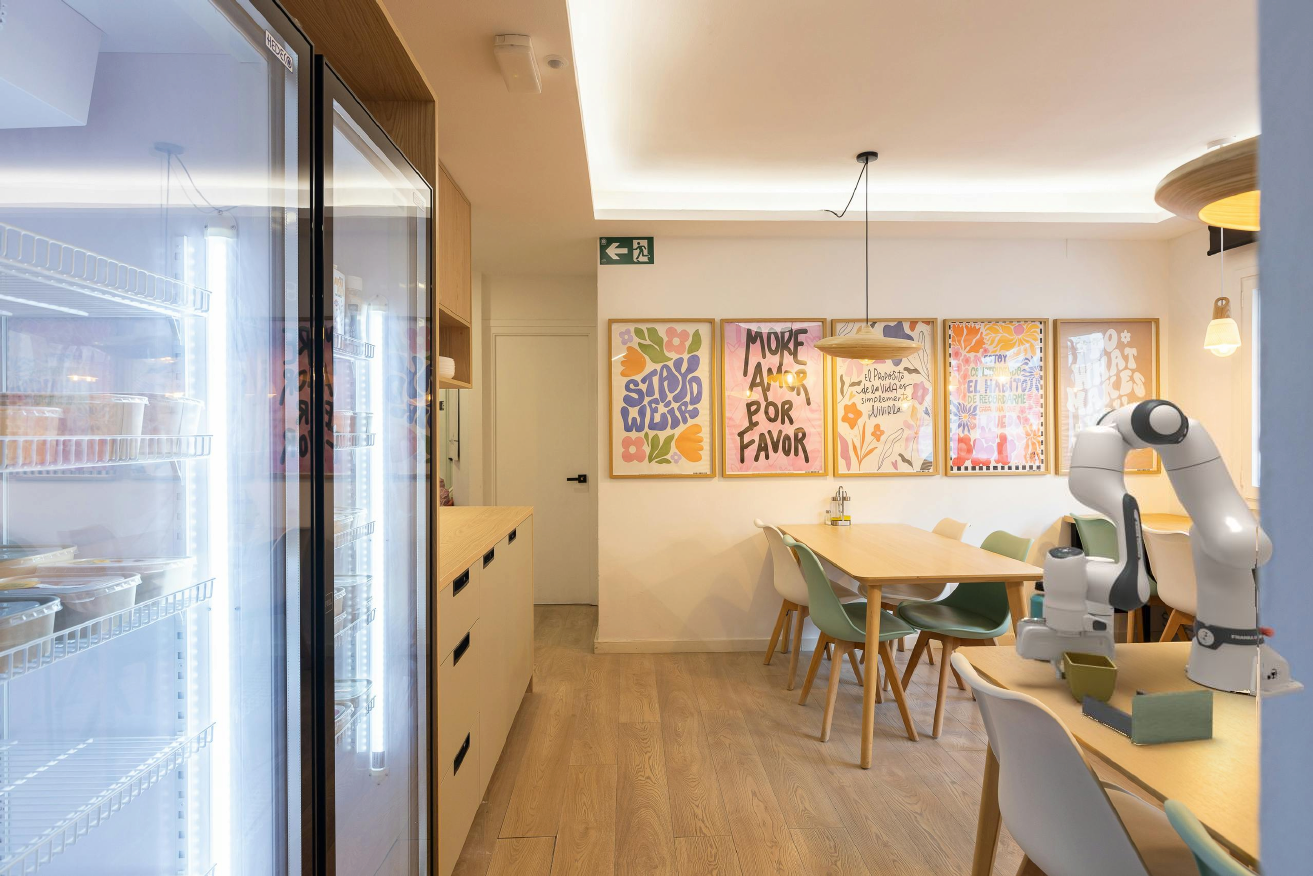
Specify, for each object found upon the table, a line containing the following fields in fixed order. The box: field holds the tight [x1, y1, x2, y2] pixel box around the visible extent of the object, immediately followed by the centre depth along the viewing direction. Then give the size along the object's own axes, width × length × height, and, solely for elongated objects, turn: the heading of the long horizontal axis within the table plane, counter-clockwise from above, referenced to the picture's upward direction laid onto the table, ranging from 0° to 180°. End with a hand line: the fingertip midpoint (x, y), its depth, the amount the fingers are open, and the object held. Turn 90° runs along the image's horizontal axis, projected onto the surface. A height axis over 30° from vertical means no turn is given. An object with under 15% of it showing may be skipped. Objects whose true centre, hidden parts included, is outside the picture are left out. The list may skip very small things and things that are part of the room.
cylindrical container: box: [1085, 556, 1115, 637], centre depth 179 cm, size 7×7×25 cm
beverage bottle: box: [1029, 580, 1045, 618], centre depth 174 cm, size 6×7×20 cm
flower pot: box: [1062, 651, 1119, 704], centre depth 147 cm, size 9×9×9 cm
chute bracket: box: [1081, 689, 1214, 745], centre depth 134 cm, size 17×14×9 cm
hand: (1064, 678), depth 154 cm, fingers closed
